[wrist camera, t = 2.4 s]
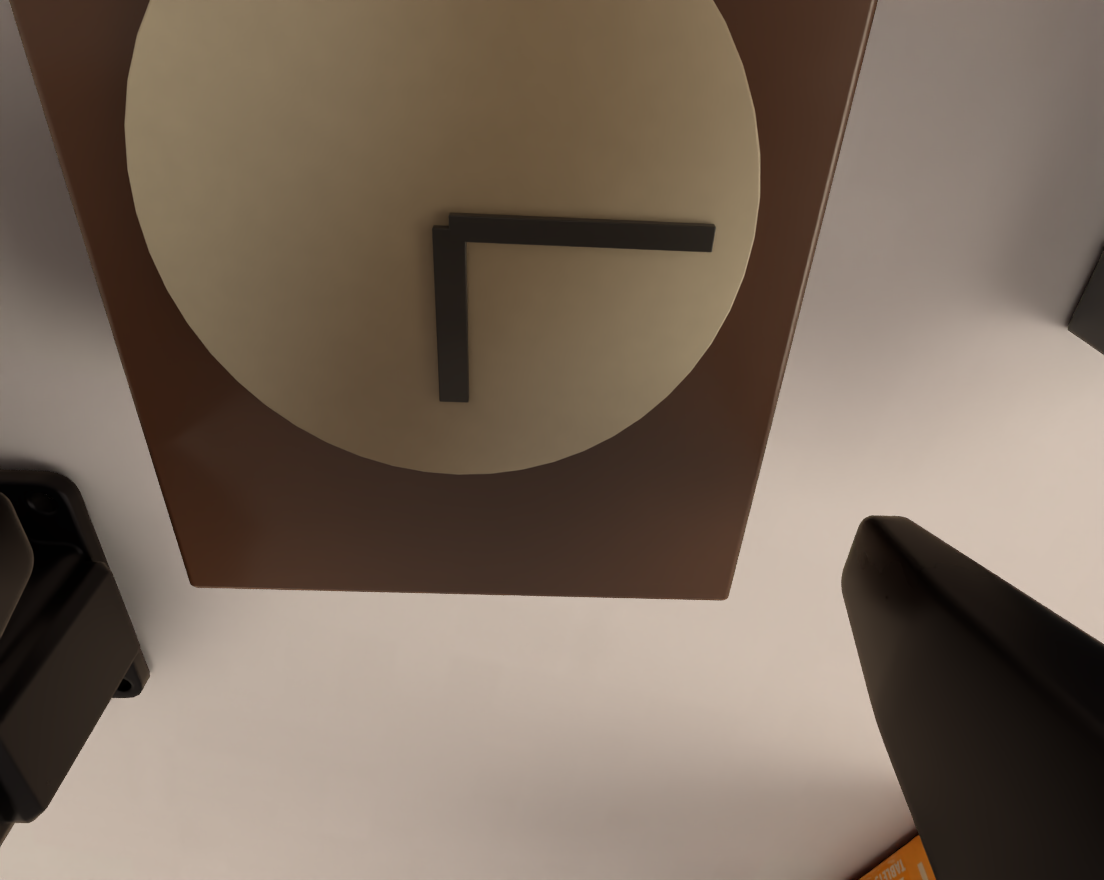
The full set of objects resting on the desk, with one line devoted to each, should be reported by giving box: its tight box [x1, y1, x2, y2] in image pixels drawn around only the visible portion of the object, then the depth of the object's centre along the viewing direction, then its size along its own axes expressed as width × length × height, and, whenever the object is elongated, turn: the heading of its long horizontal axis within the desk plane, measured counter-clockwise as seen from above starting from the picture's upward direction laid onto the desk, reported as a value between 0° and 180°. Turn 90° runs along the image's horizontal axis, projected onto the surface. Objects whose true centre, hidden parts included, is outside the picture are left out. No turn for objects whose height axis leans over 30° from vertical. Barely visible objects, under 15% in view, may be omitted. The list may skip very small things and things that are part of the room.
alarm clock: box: [9, 0, 878, 600], centre depth 8 cm, size 7×11×4 cm, turn 177°
